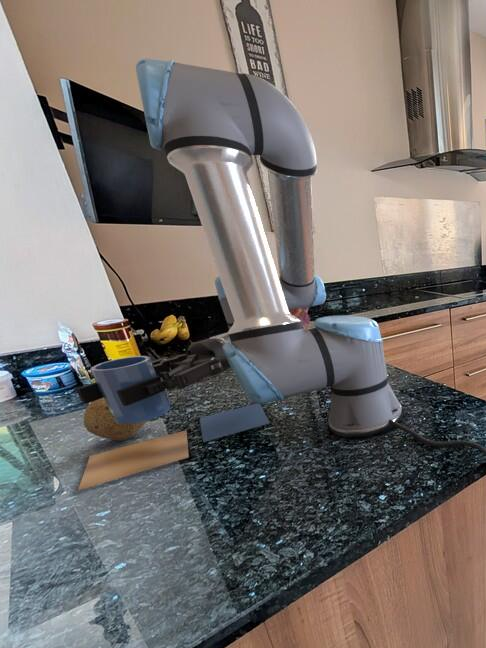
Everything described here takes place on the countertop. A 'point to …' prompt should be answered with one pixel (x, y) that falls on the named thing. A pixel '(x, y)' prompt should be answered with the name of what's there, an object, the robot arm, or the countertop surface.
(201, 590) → the countertop surface
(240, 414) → the blue mat
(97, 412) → the brown potato
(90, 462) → the cork mat
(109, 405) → the blue cup
